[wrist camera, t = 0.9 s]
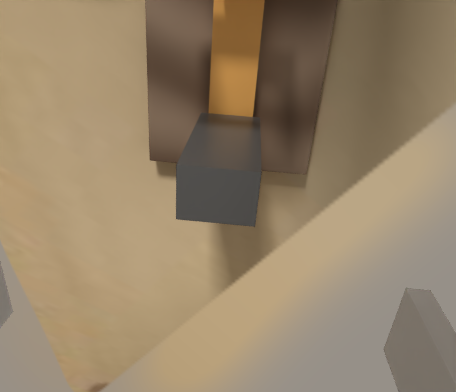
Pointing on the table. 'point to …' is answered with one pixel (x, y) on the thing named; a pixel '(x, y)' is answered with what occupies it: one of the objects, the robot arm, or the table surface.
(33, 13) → the table surface
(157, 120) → the board
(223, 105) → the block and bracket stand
